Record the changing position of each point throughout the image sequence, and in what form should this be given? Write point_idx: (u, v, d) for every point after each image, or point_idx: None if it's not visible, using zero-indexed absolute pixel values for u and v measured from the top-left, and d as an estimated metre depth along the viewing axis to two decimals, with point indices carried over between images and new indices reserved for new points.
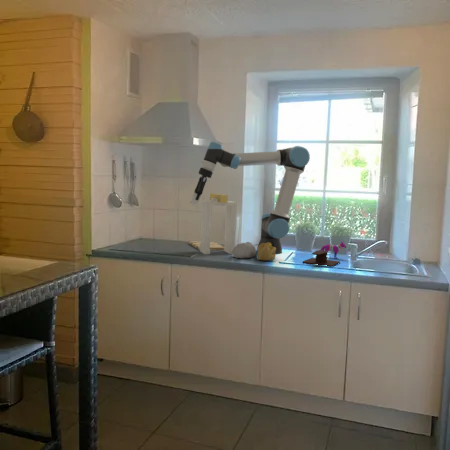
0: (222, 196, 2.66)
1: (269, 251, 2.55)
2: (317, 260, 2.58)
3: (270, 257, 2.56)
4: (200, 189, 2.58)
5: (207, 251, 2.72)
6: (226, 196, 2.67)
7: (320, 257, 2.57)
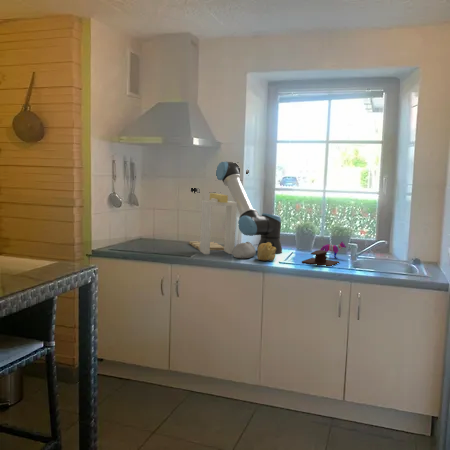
0: (222, 196, 2.66)
1: (269, 251, 2.55)
2: (316, 260, 2.58)
3: (270, 257, 2.56)
4: None
5: (207, 251, 2.72)
6: (226, 196, 2.67)
7: (319, 257, 2.57)
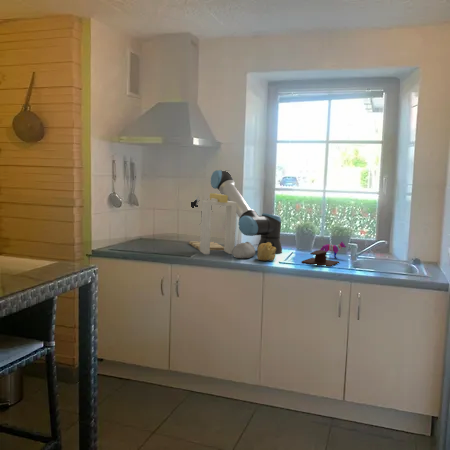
0: (222, 196, 2.66)
1: (269, 251, 2.55)
2: (316, 260, 2.58)
3: (270, 257, 2.56)
4: (191, 205, 3.10)
5: (207, 251, 2.72)
6: (226, 196, 2.67)
7: (319, 257, 2.57)
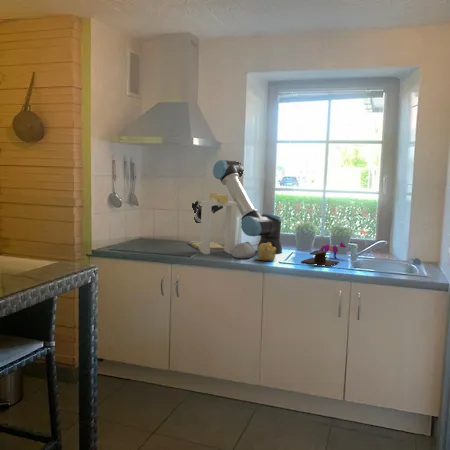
0: (222, 196, 2.66)
1: (269, 251, 2.55)
2: (316, 260, 2.58)
3: (270, 257, 2.56)
4: (192, 206, 2.95)
5: (207, 251, 2.72)
6: (226, 196, 2.67)
7: (318, 257, 2.57)
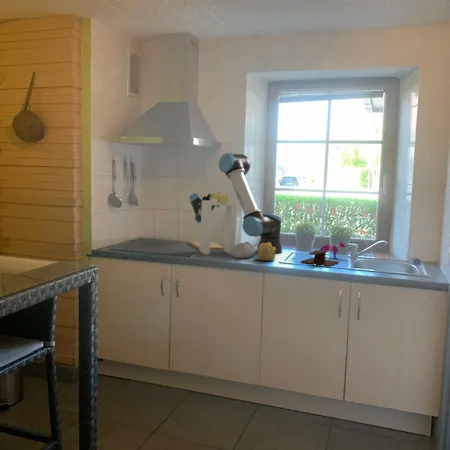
0: (222, 196, 2.66)
1: (269, 251, 2.55)
2: (315, 260, 2.58)
3: (270, 257, 2.56)
4: (203, 199, 2.87)
5: (207, 251, 2.72)
6: (226, 196, 2.67)
7: (318, 257, 2.57)
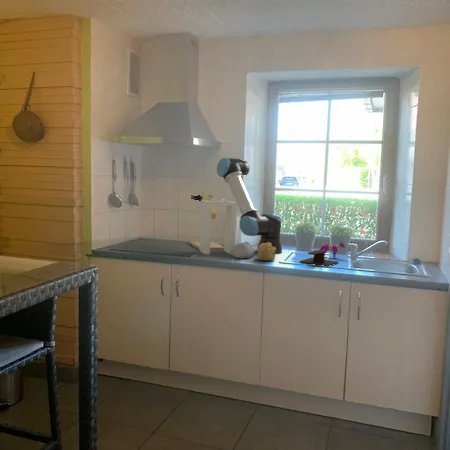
0: (211, 214, 2.86)
1: (269, 251, 2.55)
2: (314, 260, 2.59)
3: (270, 257, 2.56)
4: (195, 198, 3.05)
5: (207, 251, 2.72)
6: (215, 214, 2.87)
7: (317, 257, 2.58)
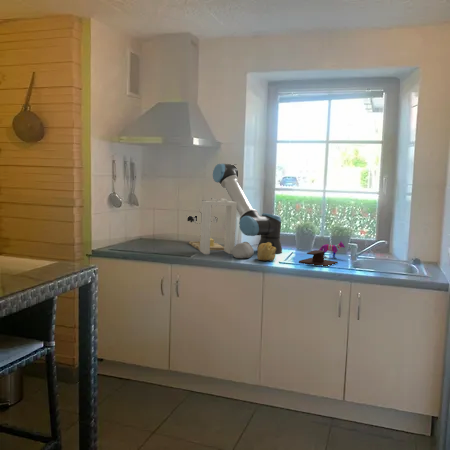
0: None
1: (269, 251, 2.55)
2: (313, 260, 2.59)
3: (270, 257, 2.56)
4: None
5: (207, 251, 2.72)
6: (212, 240, 2.91)
7: (316, 257, 2.58)
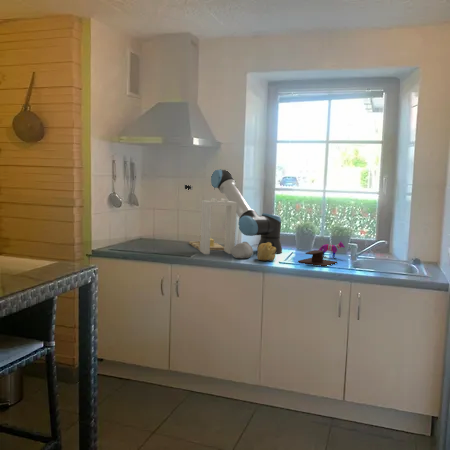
0: None
1: (269, 251, 2.55)
2: (313, 260, 2.59)
3: (270, 257, 2.56)
4: None
5: (207, 251, 2.72)
6: (212, 240, 2.91)
7: (315, 257, 2.58)
